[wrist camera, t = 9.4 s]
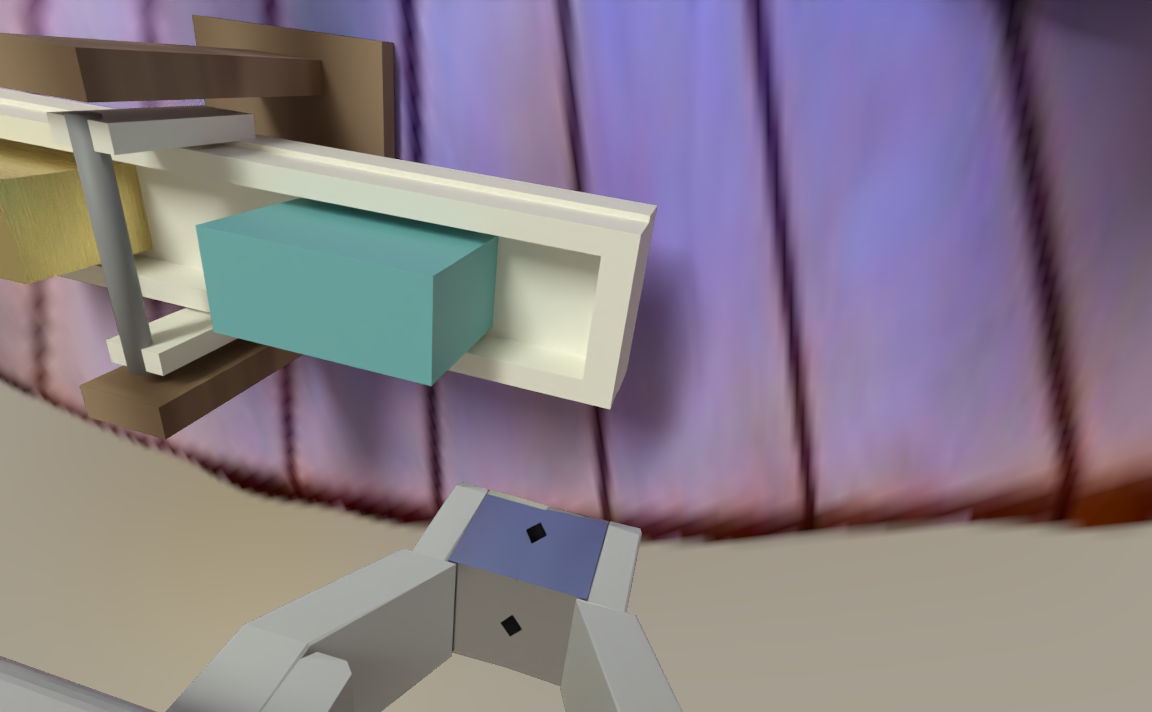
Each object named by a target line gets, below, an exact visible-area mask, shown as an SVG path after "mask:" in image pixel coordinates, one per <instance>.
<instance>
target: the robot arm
mask: <svg viewBox="0 0 1152 712" xmlns="http://www.w3.org/2000/svg"><path fill="white" fill-rule="evenodd" d="M641 535H642V533H641V529H639V528H635V527H631V526H627V525H623V524H619V523H615V522H611V521H610V523H609V522H608V521H605V520H601V519H597V518H593V517H589V516H585V515H581V514H577V513H573V512H569V511H565V510H562V509H558V508H554V507H549V506H546V505H542V504H539V503H536V502H532V501H529V500H525V499H522V498H518V497H515V496H511V495H508V494H505V493H501V492H498V491H494V490H488V489H485V488H481V487H478V486H475V485H471V484H468V483H464V482H461V483H460V484H458V485H457V486H456V487H455V488H454V489H453V491H452V492H451V493H450V495H449V496H448V498H447V499H446V501H445V502H444V504H443V505H442V507H441V508H440V510H439V511H438V513H437V514H436V516H435V517H434V519H433V520H432V522H431V523H430V524H429V526H428V527H427V529H426V530H425V532H424V533H423V535H422V536H421V538H420V539H419V541H418V542H417V544H416V545H415V547H414V548H413V550H412V551H409V550H405V549H401V550H399V551H397V552H395V553H393V554H391V555H388V556H386V557H384V558H382V559H380V560H378V561H376V562H374V563H372V564H369V565H368V566H365V567H363V568H361V569H359V570H357V571H355V572H353V573H351V574H348V575H347V576H344V577H342V578H340V579H338V580H336V581H334V582H332V583H330V584H327V585H325V586H323V587H321V588H319V589H317V590H315V591H313V592H311V593H309V594H307V595H304V596H302V597H300V598H298V599H296V600H294V601H292V602H290V603H288V604H286V605H283V606H281V607H279V608H277V609H275V610H273V611H271V612H269V613H267V614H265V615H262V616H260V617H259V618H256V619H254V620H252V621H250V622H248V623H246V624H244V625H243V626H242V627H241V628H240V629H239V631H238V632H237V633H236V634H235V635H234V636H233V637H232V638H231V639H230V640H229V642H228V643H227V644H226V645H225V646H224V647H223V648H222V649H221V651H220V652H219V653H218V654H217V655H216V656H215V657H214V658H213V659H212V661H211V662H210V663H209V664H208V665H207V666H206V667H205V669H203V671H202V672H201V673H200V674H199V675H198V676H197V677H196V678H195V680H194V681H193V682H192V683H191V684H190V685H189V686H188V687H187V688H186V690H185V691H184V692H183V693H182V694H181V695H180V696H179V697H178V699H177V700H176V701H175V702H174V703H173V704H172V705H171V706H170V708H169V709H168V710H167V711H166V712H381V711H382V710H384V709H385V708H386V707H387V706H389V705H390V704H391V703H393V702H394V701H395V700H396V699H398V698H399V697H400V696H402V695H403V694H404V693H405V692H407V691H408V690H409V689H410V688H412V687H413V686H414V685H416V684H417V683H418V682H419V681H421V680H422V679H423V678H424V677H426V676H427V675H428V674H429V673H431V672H432V671H433V670H434V669H436V668H437V667H439V666H440V665H441V664H442V663H444V662H445V661H446V660H447V659H449V658H450V657H451V656H452V653H456V654H460V655H464V656H467V657H470V658H474V659H478V660H481V661H485V662H489V663H492V664H496V665H499V666H503V667H507V668H509V669H512V670H515V671H518V672H521V673H524V674H527V675H530V676H533V677H536V678H538V679H541V680H544V681H547V682H550V683H553V684H556V685H559V686H561V688H560V690H561V694H562V698H563V702H564V706H565V710H566V712H682V710H681V708H680V706H679V704H678V701H677V699H676V697H675V695H674V693H673V691H672V689H671V687H670V685H669V683H668V681H667V679H666V676H665V675H664V672H663V670H662V668H661V666H660V664H659V662H658V660H657V658H656V656H655V654H654V652H653V650H652V647H651V645H650V643H649V641H648V639H647V637H646V635H645V633H644V631H643V629H642V627H641V625H640V622H639V620H638V618H637V616H635V615H632V614H629V613H626V612H627V607H628V602H629V597H630V592H631V587H632V581H633V576H634V571H635V566H636V561H637V555H638V550H639V545H640V540H641ZM0 712H156V711H153V710H150V709H147V708H144V707H142V706H139V705H136V704H133V703H130V702H127V701H125V700H122V699H119V698H116V697H113V696H111V695H108V694H105V693H102V692H100V691H97V690H94V689H91V688H88V687H85V686H83V685H80V684H77V683H74V682H71V681H69V680H66V679H63V678H60V677H58V676H55V675H52V674H49V673H46V672H43V671H41V670H38V669H35V668H32V667H30V666H27V665H24V664H21V663H18V662H16V661H13V660H10V659H7V658H4V657H1V656H0Z"/></svg>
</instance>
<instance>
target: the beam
mask: <svg viewBox="0 0 1152 712" xmlns="http://www.w3.org/2000/svg"><path fill="white" fill-rule="evenodd" d="M0 138H2V139H7V140H12V141H17V142H23V143H28V144H33V145H38V146H43V147H48V148H53V149H58V150H63V151H68V152H73V153H74V157H75V161H76V164H77V168H78V172H79V176H80V180H81V184H82V188H83V192H84V196H85V200H86V204H87V208H88V212H89V216H90V220H91V224H92V228H93V232H94V236H95V240H96V244H97V248H98V252H99V256H100V260H101V264H97V265H94V266H90V267H87V268H83V269H80V270H76V271H73V272H69V273H65V274H62V275H58V276H60V277H64V278H68V279H73V280H77V281H81V282H85V283H89V284H93V285H97V286H101V287H106V288H108V292H109V296H110V300H111V304H112V308H113V312H114V316H115V320H116V324H117V328H118V332H119V335H117V336H115V337H113V338H110V339H108V340H106V342H107V346H108V350H109V354H110V358H111V361H112V362H113V363H117V364H120V365H124V366H127V368H128V372H129V373H130V374H132V375H145V374H149V373H154V374H158V375H161V376H164V375H166V374H168V373H170V372H172V371H174V370H176V369H178V368H180V367H182V366H184V365H186V364H188V363H190V362H192V361H194V360H196V359H198V358H200V357H202V356H204V355H206V354H208V353H210V352H212V351H214V350H216V349H218V348H220V347H222V346H224V345H226V344H228V343H230V342H231V341H233V340H235V339H237V338H236V337H231V336H227V335H223V334H219V333H215V332H213V326H212V320H211V314H210V308H209V302H208V296H207V291H206V285H205V279H204V273H203V267H202V261H201V255H200V249H199V243H198V237H197V232H196V226H195V225H198V224H202V223H206V222H210V221H213V220H217V219H221V218H225V217H229V216H233V215H236V214H240V213H244V212H248V211H252V210H256V209H259V208H263V207H267V206H271V205H275V204H279V203H282V202H286V201H290V200H294V199H298V198H307V199H313V200H318V201H323V202H328V203H333V204H338V205H343V206H348V207H353V208H358V209H363V210H368V211H374V212H379V213H384V214H389V215H394V216H399V217H404V218H409V219H414V220H419V221H424V222H430V223H435V224H440V225H445V226H450V227H455V228H460V229H465V230H470V231H475V232H480V233H485V234H491V235H496V236H499V237H498V253H497V268H496V283H495V298H494V314H493V327H492V328H491V329H490V330H489V331H487V332H486V333H485V334H484V335H483V336H482V337H481V338H480V339H479V340H478V341H477V342H476V343H475V344H474V345H473V346H472V347H471V348H470V349H469V350H468V351H467V352H466V353H465V354H464V355H463V356H462V357H461V358H460V359H459V360H458V361H457V362H456V363H455V364H454V365H453V366H452V367H451V368H450V369H449V371H453V372H457V373H461V374H465V375H469V376H474V377H478V378H482V379H486V380H490V381H494V382H498V383H502V384H507V385H511V386H515V387H519V388H523V389H527V390H531V391H536V392H540V393H544V394H548V395H552V396H556V397H560V398H564V399H569V400H573V401H577V402H581V403H585V404H589V405H593V406H598V407H602V408H606V409H611V406H612V404H613V401H614V399H615V396H616V394H617V391H619V389H620V387H621V384H622V382H623V379H624V377H625V374H626V372H627V367H628V362H629V356H630V351H631V346H632V340H633V335H634V329H635V324H636V319H637V313H638V308H639V302H640V297H641V291H642V286H643V281H644V275H645V270H646V264H647V259H648V254H649V248H650V243H651V237H652V232H653V226H654V221H655V216H656V210H657V205H651V204H645V203H640V202H634V201H629V200H623V199H617V198H612V197H606V196H601V195H595V194H589V193H584V192H578V191H572V190H567V189H561V188H556V187H550V186H544V185H539V184H533V183H528V182H522V181H516V180H511V179H505V178H500V177H494V176H488V175H483V174H477V173H472V172H466V171H460V170H455V169H449V168H444V167H438V166H432V165H427V164H421V163H416V162H410V161H404V160H399V159H393V158H388V157H382V156H376V155H371V154H365V153H359V152H354V151H348V150H343V149H337V148H331V147H326V146H320V145H315V144H309V143H303V142H298V141H292V140H287V139H281V138H275V137H270V136H264V135H259V134H255V127H254V118H253V114H250V113H244V112H238V111H232V110H227V109H221V108H215V107H209V106H203V105H201V106H177V107H154V108H130V109H113V108H107V107H102V106H96V105H90V104H85V103H79V102H74V101H68V100H62V99H57V98H51V97H46V96H40V95H34V94H29V93H23V92H18V91H12V90H6V89H1V88H0ZM112 160H114V161H119V162H124V163H129V164H134V165H136V169H137V174H138V179H139V183H140V188H141V193H142V198H143V203H144V208H145V212H146V217H147V222H148V227H149V232H150V237H151V241H152V246H153V249H151V250H147V251H143V252H140V253H136V254H133V251H132V247H131V242H130V238H129V233H128V229H127V224H126V220H125V216H124V211H123V207H122V202H121V198H120V193H119V189H118V184H117V180H116V175H115V171H114V166H113V162H112ZM143 297H147V298H151V299H155V300H159V301H163V302H168V303H172V304H176V305H180V306H184V307H187V308H184V309H182V310H179V311H177V312H174V313H172V314H169V315H167V316H164V317H162V318H159V319H157V320H154V321H152V322H150V323H148V318H147V314H146V310H145V305H144V301H143Z"/></svg>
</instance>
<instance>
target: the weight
mask: <svg viewBox="0 0 1152 712" xmlns="http://www.w3.org/2000/svg"><path fill="white" fill-rule="evenodd" d="M112 162H113V166H114V171H115V175H116V180H117V184H118V189H119V193H120V198H121V202H122V207H123V211H124V216H125V220H126V224H127V229H128V233H129V238H130V242H131V247H132V251H133V254H136V253H140V252H143V251H147V250H151V249H153V246H152V241H151V237H150V232H149V227H148V222H147V217H146V212H145V208H144V203H143V198H142V193H141V188H140V183H139V179H138V174H137V169H136V165H134V164H129V163H124V162H119V161H114V160H112ZM97 264H101V260H100V256H99V252H98V248H97V244H96V240H95V236H94V232H93V228H92V224H91V220H90V216H89V212H88V208H87V204H86V200H85V196H84V192H83V188H82V184H81V180H80V176H79V172H78V168H77V164H76V161H75V157H74V153H73V152H68V151H63V150H58V149H53V148H48V147H43V146H38V145H33V144H28V143H23V142H17V141H12V140H7V139H2V138H0V278H3V279H7V280H11V281H15V282H19V283H23V284H30V283H34V282H37V281H41V280H44V279H48V278H51V277H55V276H58V275H62V274H65V273H69V272H73V271H76V270H80V269H83V268H87V267H90V266H94V265H97Z"/></svg>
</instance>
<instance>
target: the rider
mask: <svg viewBox="0 0 1152 712" xmlns="http://www.w3.org/2000/svg"><path fill="white" fill-rule="evenodd" d="M195 226H196V232H197V237H198V243H199V249H200V255H201V261H202V267H203V273H204V279H205V285H206V291H207V296H208V302H209V308H210V314H211V320H212V326H213V332H215V333H219V334H223V335H227V336H231V337H236V338H240V339H244V340H248V341H252V342H256V343H260V344H264V345H268V346H272V347H276V348H280V349H284V350H288V351H292V352H296V353H300V354H304V355H308V356H312V357H316V358H320V359H324V360H328V361H332V362H336V363H340V364H344V365H348V366H352V367H356V368H360V369H364V370H368V371H372V372H376V373H380V374H384V375H388V376H392V377H396V378H400V379H404V380H408V381H412V382H416V383H420V384H425V385H429V386H432V385H433V384H434V383H435V382H436V381H437V380H438V379H439V378H440V377H441V376H442V375H443V374H444V373H446V372H447V371H448V370H449V369H450V368H451V367H452V366H453V365H454V364H455V363H456V362H457V361H458V360H459V359H460V358H461V357H462V356H463V355H464V354H465V353H466V352H467V351H468V350H469V349H470V348H471V347H472V346H473V345H474V344H475V343H476V342H477V341H478V340H479V339H480V338H481V337H482V336H483V335H484V334H485V333H486V332H487V331H489V330H490V329H491V328H492V327H493V314H494V298H495V283H496V268H497V253H498V237H499V236H496V235H491V234H485V233H480V232H475V231H470V230H465V229H460V228H455V227H450V226H445V225H440V224H435V223H430V222H424V221H419V220H414V219H409V218H404V217H399V216H394V215H389V214H384V213H379V212H374V211H368V210H363V209H358V208H353V207H348V206H343V205H338V204H333V203H328V202H323V201H318V200H313V199H307V198H298V199H294V200H290V201H286V202H282V203H279V204H275V205H271V206H267V207H263V208H259V209H256V210H252V211H248V212H244V213H240V214H236V215H233V216H229V217H225V218H221V219H217V220H213V221H210V222H206V223H202V224H198V225H195Z"/></svg>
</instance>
